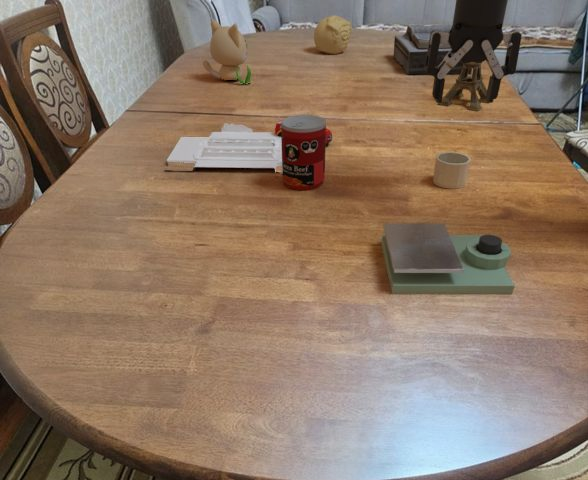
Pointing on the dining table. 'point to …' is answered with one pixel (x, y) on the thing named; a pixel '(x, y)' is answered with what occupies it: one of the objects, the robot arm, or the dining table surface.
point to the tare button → (489, 244)
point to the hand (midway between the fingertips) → (463, 101)
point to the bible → (421, 49)
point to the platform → (421, 248)
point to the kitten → (227, 52)
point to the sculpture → (332, 34)
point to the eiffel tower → (468, 87)
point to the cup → (451, 170)
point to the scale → (474, 280)
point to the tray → (230, 149)
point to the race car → (278, 132)
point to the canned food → (303, 151)
